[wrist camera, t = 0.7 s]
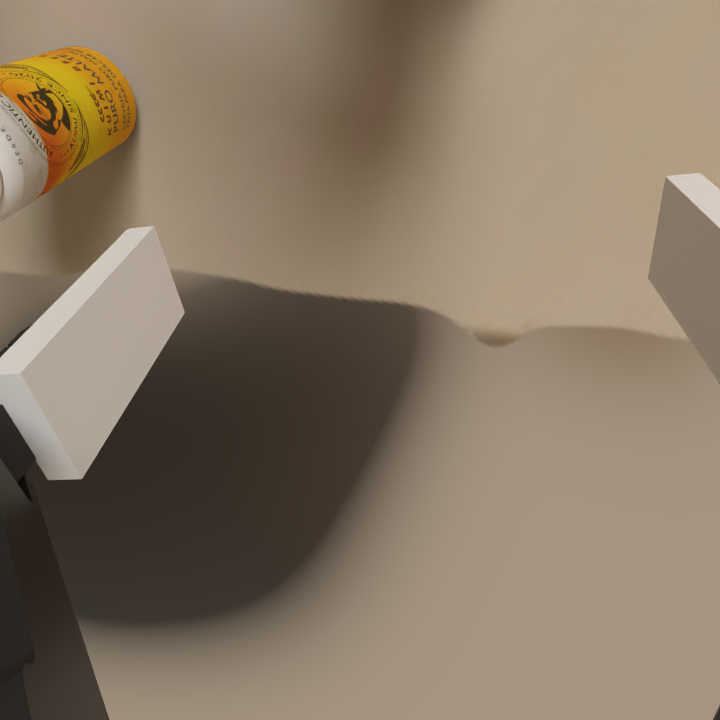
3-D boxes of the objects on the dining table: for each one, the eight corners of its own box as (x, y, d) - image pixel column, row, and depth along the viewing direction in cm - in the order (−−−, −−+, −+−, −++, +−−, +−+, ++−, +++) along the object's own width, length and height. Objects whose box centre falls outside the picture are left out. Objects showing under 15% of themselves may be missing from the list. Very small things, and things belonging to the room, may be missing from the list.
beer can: (160, 110, 38) (36, 187, 26) (100, 163, 40) (-39, 256, 28) (88, 22, 35) (-88, 61, 23) (28, 83, 38) (-160, 148, 25)
